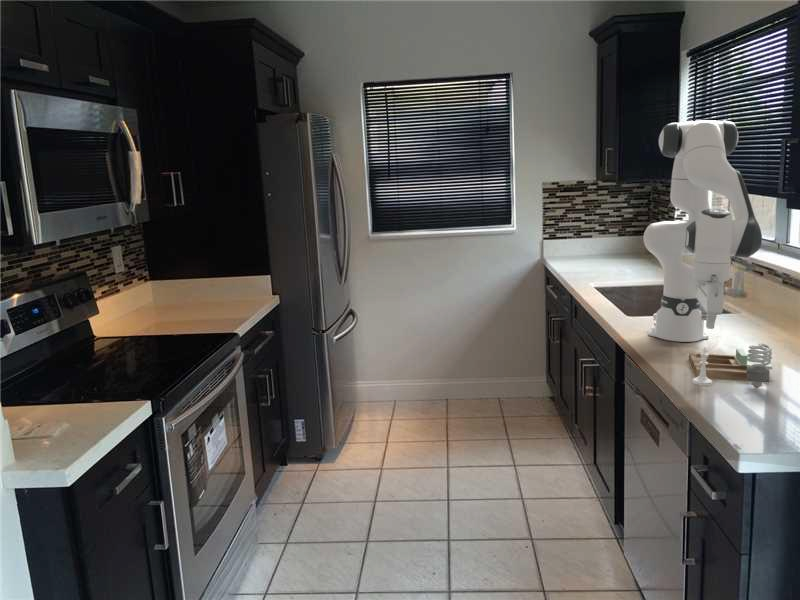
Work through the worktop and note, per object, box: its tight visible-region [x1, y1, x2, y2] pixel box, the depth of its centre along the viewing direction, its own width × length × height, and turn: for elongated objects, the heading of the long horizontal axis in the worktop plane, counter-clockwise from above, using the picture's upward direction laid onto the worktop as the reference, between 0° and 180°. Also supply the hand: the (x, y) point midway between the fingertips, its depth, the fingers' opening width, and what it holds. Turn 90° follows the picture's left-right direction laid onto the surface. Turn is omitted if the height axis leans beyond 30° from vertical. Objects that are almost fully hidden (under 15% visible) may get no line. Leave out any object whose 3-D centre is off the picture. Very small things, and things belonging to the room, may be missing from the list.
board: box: [688, 352, 771, 384], centre depth 189 cm, size 16×18×3 cm
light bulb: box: [746, 342, 773, 389], centre depth 174 cm, size 6×6×12 cm
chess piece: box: [691, 346, 713, 387], centre depth 179 cm, size 5×5×10 cm
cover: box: [733, 347, 773, 370], centre depth 187 cm, size 8×8×3 cm
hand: (707, 323), depth 177 cm, fingers open, 8 cm apart
